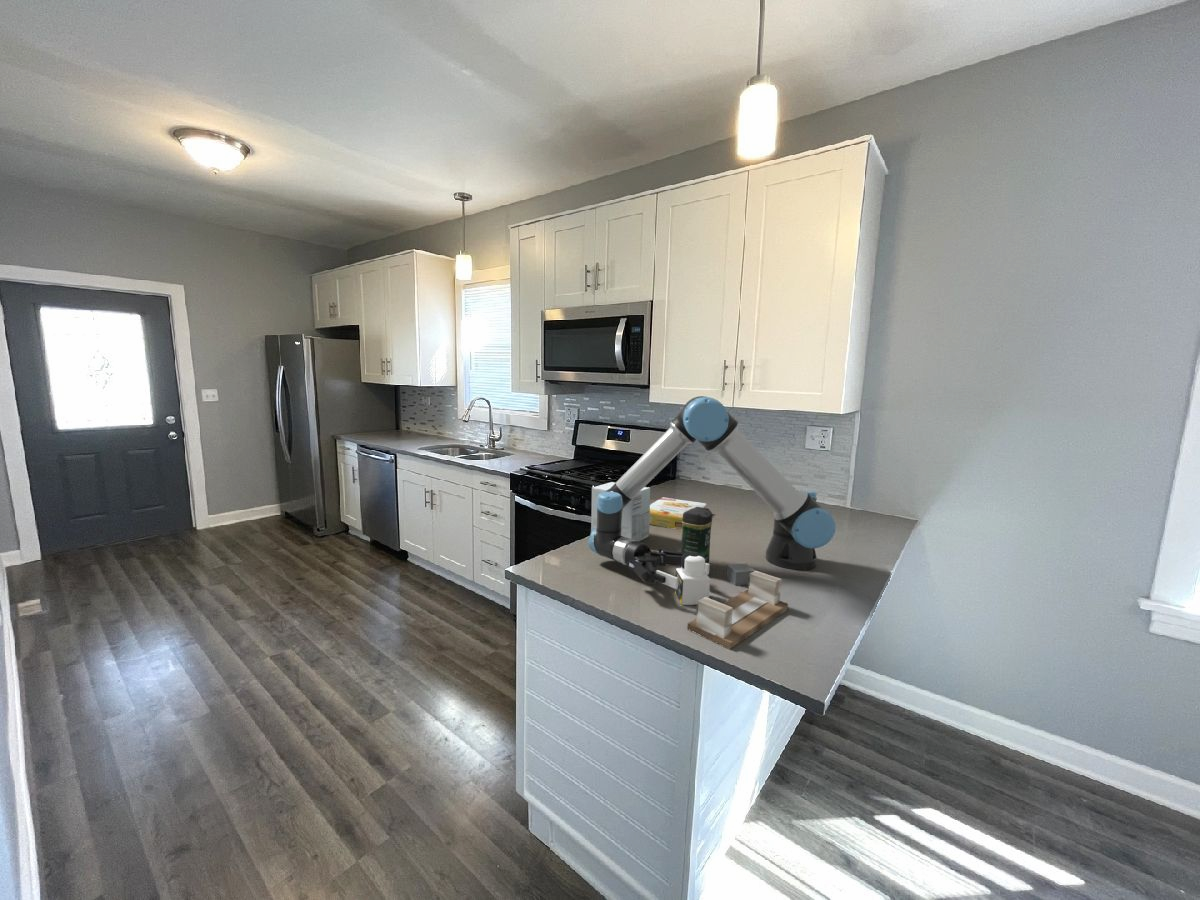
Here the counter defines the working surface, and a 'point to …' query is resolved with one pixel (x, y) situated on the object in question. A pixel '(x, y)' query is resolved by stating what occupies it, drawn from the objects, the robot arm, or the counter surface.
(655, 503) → the cereal box
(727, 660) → the counter surface
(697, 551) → the coffee jar
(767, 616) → the rail board
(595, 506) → the supplement box
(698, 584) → the medicine bottle
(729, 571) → the gray cube
